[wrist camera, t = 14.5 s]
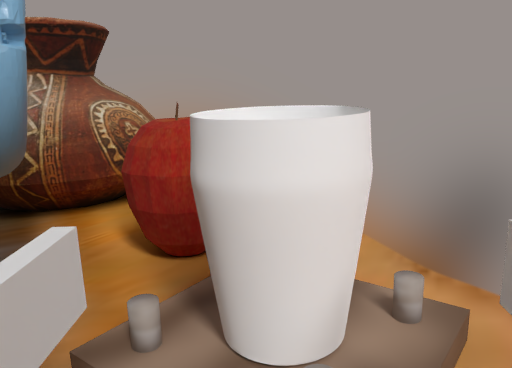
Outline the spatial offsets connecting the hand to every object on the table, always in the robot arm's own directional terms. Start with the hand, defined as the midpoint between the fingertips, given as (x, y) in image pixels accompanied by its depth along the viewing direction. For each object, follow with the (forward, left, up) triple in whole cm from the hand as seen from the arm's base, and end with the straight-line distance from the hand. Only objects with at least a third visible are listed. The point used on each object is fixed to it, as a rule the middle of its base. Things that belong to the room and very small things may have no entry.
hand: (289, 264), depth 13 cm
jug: (-52, +22, -10) cm, 58 cm away
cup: (-5, +8, -8) cm, 12 cm away
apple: (-22, +17, -10) cm, 30 cm away
